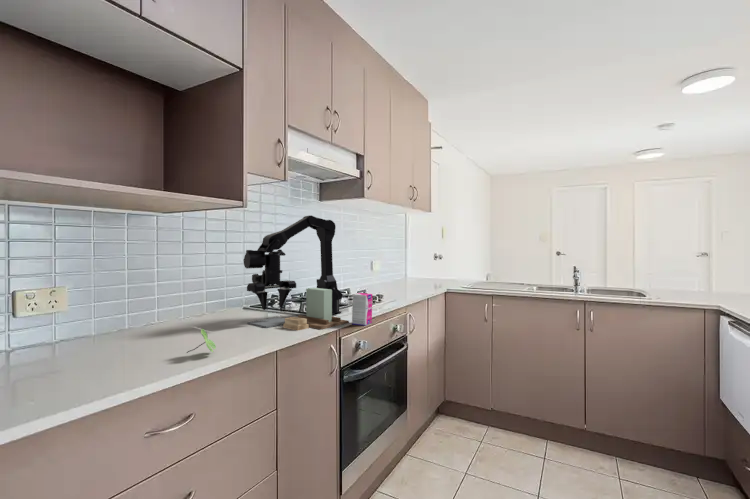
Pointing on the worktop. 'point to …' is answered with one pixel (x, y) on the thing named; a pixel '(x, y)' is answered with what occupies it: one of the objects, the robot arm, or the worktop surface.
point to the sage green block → (319, 303)
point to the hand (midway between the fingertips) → (272, 308)
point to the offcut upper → (295, 321)
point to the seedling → (206, 341)
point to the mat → (268, 322)
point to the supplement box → (362, 309)
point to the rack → (323, 322)
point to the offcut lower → (296, 327)
